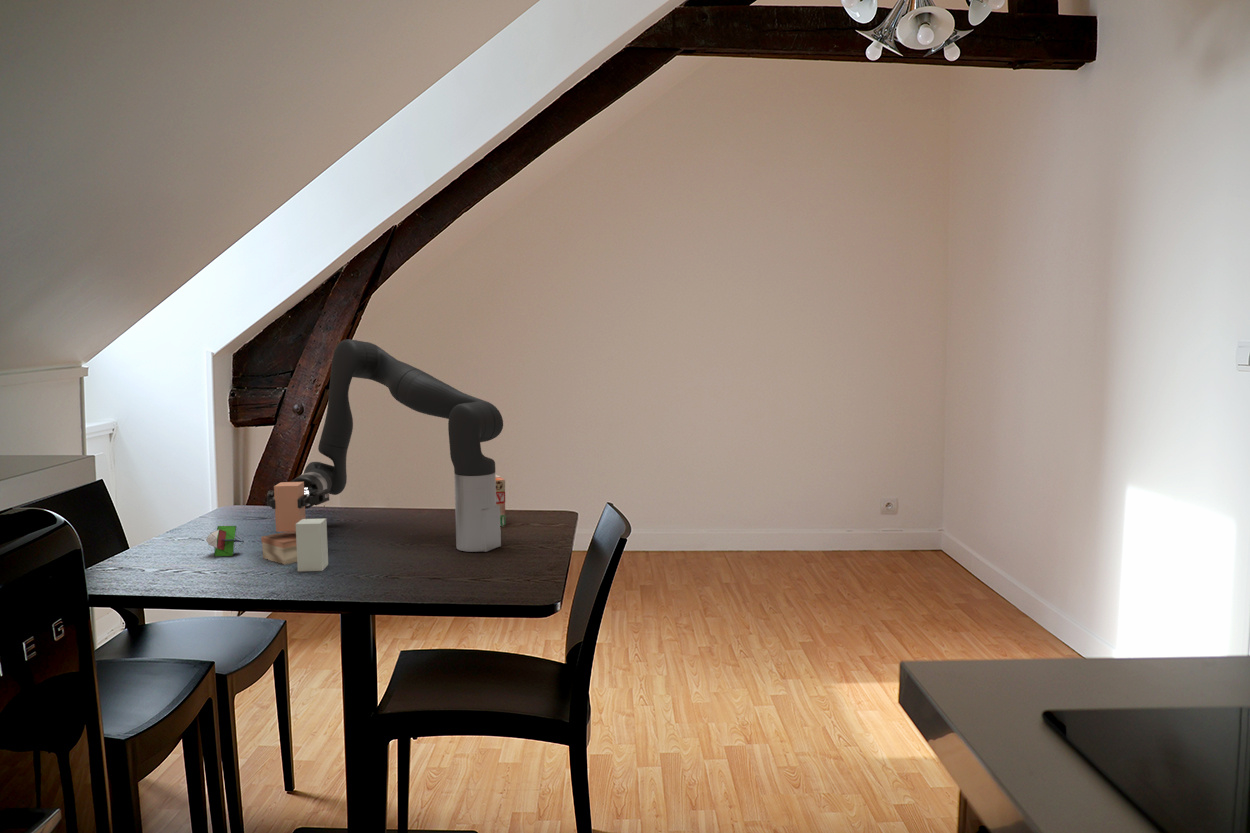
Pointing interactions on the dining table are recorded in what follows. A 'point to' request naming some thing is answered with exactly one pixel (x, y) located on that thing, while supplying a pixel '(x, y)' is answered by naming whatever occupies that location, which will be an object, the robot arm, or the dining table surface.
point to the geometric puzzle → (223, 540)
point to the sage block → (311, 544)
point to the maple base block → (280, 547)
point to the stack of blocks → (501, 498)
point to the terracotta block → (288, 505)
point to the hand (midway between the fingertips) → (286, 504)
